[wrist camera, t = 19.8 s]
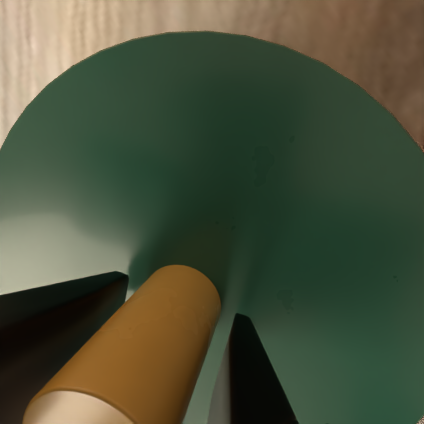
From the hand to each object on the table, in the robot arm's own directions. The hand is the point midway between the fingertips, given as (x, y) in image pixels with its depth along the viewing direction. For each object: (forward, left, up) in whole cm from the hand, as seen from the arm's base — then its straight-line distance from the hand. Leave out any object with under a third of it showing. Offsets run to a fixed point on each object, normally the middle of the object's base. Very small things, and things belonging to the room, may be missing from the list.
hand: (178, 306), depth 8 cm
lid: (0, 0, -1) cm, 1 cm away
